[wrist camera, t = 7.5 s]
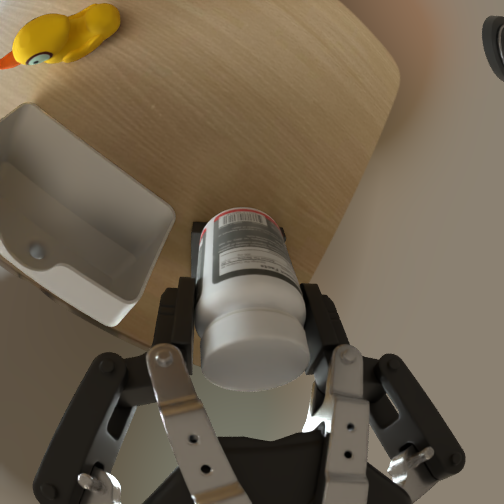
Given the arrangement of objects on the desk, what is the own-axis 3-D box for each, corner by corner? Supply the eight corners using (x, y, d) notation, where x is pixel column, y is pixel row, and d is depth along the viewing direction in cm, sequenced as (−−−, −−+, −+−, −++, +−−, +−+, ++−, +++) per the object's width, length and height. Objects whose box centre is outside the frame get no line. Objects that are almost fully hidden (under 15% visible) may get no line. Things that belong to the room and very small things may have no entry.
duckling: (47, 79, 21) (-9, 93, 13) (40, 42, 17) (-16, 45, 9) (134, 40, 20) (93, 29, 12) (127, -1, 17) (86, -24, 9)
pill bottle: (243, 284, 18) (256, 405, 12) (183, 245, 16) (166, 374, 9) (298, 237, 17) (344, 358, 10) (239, 187, 14) (256, 310, 8)
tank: (-6, 195, 27) (-56, 244, 17) (28, 99, 21) (-43, 127, 11) (118, 285, 39) (95, 355, 29) (179, 211, 33) (160, 283, 23)
